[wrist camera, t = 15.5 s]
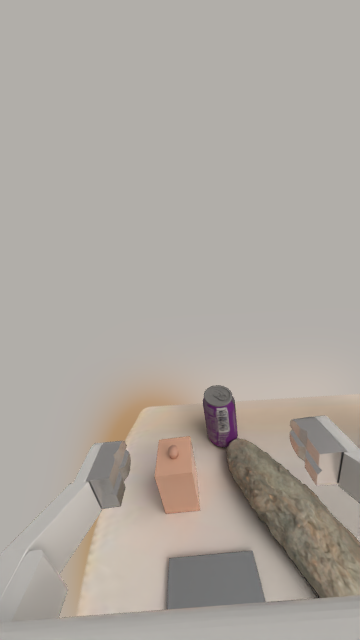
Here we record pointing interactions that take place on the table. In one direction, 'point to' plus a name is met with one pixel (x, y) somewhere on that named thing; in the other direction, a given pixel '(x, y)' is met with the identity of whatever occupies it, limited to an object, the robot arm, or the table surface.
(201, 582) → the mat
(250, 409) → the table surface
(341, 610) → the robot arm
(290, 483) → the long grey stone
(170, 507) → the peach block with knob
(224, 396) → the beverage can
